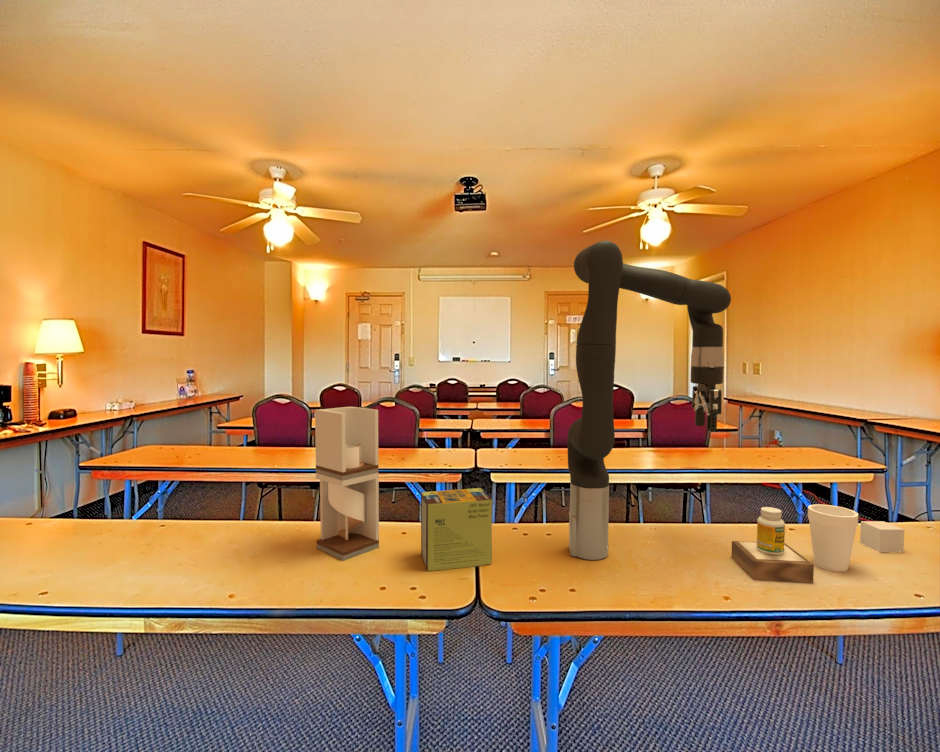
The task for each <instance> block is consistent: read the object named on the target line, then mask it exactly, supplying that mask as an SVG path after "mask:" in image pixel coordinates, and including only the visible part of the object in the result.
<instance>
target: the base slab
mask: <svg viewBox="0 0 940 752" xmlns="http://www.w3.org/2000/svg"><path fill="white" fill-rule="evenodd" d="M730 557H731V558H732V559H733V560H734V562H735V563H736V564H738V565H739V566H740V567H741V568H742V570H743V571H744V572H745V573H746V574H747V575H748V576H749V577H750V578H751V579H752V580H754V581H755V580H756V581H769V582H770V581H771V582H772V581H773V582H787V583H803V584H814V576H815V575H814V573H815V572H814V571H815V569H814V567H815V564H814V563H812V562H811V561H809V560H808V559H807V558H805V557H804V556H803V555H801V554H800V553H799V552H798V551H796V550H795V549H794V548H792V547H791V546H789V545H788V544H787V543H785V542H784V553H783V554H782V555H770V554H766V553H763V552H761V551H759V550H758V549H757V541H744V540H743V541H741V540H732V541H731V556H730Z"/></svg>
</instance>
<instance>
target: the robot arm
mask: <svg viewBox="0 0 940 752" xmlns="http://www.w3.org/2000/svg"><path fill="white" fill-rule="evenodd" d="M623 261H624V260H623V255H622V251H621V249H620V247H619V246H618V245H617V244H616V243H615V242H613V241H611V240H601V241H598V242H596V243H593V244H590V246H587V247H585V248H584V249H582V250H581V251H579V253H578V254H577V255H576V256H575V259H574V262H573V269H574V273H575V275H576V277H577V278H578V279H579V280H580V281H582V282H583V283H585V284H588V291H587V292H588V294H587V295H588V296H587V302H586V307H585V309H584V310H585V311H584V313H583V315H582V319H581V322H580V326H579V328H578V333H577V336H576V337H577V338H576V346H575V367H576V373H577V379H578V382H579V387H580V392H581V397H582V400H581V401H582V407H581V408H582V409H581V411H582V412H581V417H580V418H577V419H576V420H575V421H573V422H572V424H570V426H569V429H568V433H567V469H568V473H569V477H570V482H569V483H570V486H569V487H570V488H569V489H570V491H569V493H570V494H569V495H570V497H569V498H570V499H569V501H570V502H569V506H570V507H569V511H568V512H569V513H568V515H569V516H568V517H569V518H568V519H569V520H568V521H569V522H568V548H569V549H568V550H569V555H570V557H576V558H580V559H582V558H583V560H590V561H591V560H592V561H595V560H596V561H597V560H598V561H599V560H603V559H605V558H607V557H608V555H609V523H610V522H609V514H610V513H609V510H610V509H609V507H610V505H609V504H610V503H609V502H610V474H609V472H608V470H607V468H606V465H605V464H606V463H605V459H604V458H606V457H607V456H608V455H610V453H611V452H612V449H613V448H614V445H615V438H616V437H615V421H614V420H615V419H614V405H613V404H614V402H613V401H614V399H613V398H614V388H615V387H614V386H615V366H616V353H617V351H616V350H617V349H616V348H617V321H618V301H619V294H620V289H622V290H625V291H630V292H633V293H638V294H641V295H644V296H648V297H651V298H654V299H657V300H660V301H664V302H666V303H669V304H673V305H677V306H686V307H687V314H688V318H689V323H690V326H691V330H692V343H691V344H692V348H691V355H690V383H691V384H695V385H693V386H692V397H691V398H692V399H691V400H692V401H691V408H692V409H693V410H694V412H695V413H694V414H695V416H694V417H695V419H694V425H695V426H697V427H704V426H705V424H706V430H707V431H708V432H716V431H717V430H718V429H717V427H718V416H719V415H721V414H722V412H723V411H722V390H721V389H717V388H716V386H717V385H721V384H723V383H724V368H725V367H724V361H725V360H724V359H725V356H724V355H725V354H724V328H723V326H722V325H720V324H718V323H715V321H714V316H713V314H720V313H723V311H726V310H727V309H728V308H729V307H730V305H731V302H732V296H731V293H730V291H729V290H728V289H727V288H726V287H725V286H723V285H722V284H719V283H715V282H712V281H705V280H700V279H692V278H688V277H686V276H683V275H680V274H678V273H674V272H671V271H667V270H662V269H658V268H652V267H651V268H649V267H642V266H636V265H631V264H628V263H624V262H623Z"/></svg>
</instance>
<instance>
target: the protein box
mask: <svg viewBox="0 0 940 752" xmlns="http://www.w3.org/2000/svg"><path fill="white" fill-rule="evenodd" d="M492 515H493V499H492V498H491V497H490V496H489V495H488V494H487V493H486V492H485V491H484V490H483V489H482V488H481V487H475V488H461V489H445V490H436V491H433V490H432V491H423V492H421V493H420V523H421V525H420V535H421V537H420V538H421V540H420V547H421V548H420V553H421V557H422V560H423V563H424V565H425V568H426V571H427V572H433V571H441V570H442V571H444V570H453V569H461V568H462V569H463V568H471V567H472V568H473V567H479V566H480V567H481V566H482V565H483V566H486V565H485V564H491V563H492V564H493V561H492V559H493V557H492V555H493V547H492V546H493V543H492V542H493V536H492V534H493V529H492V528H493V527H492V526H493V525H492V522H493V516H492ZM492 564H491V565H492Z"/></svg>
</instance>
